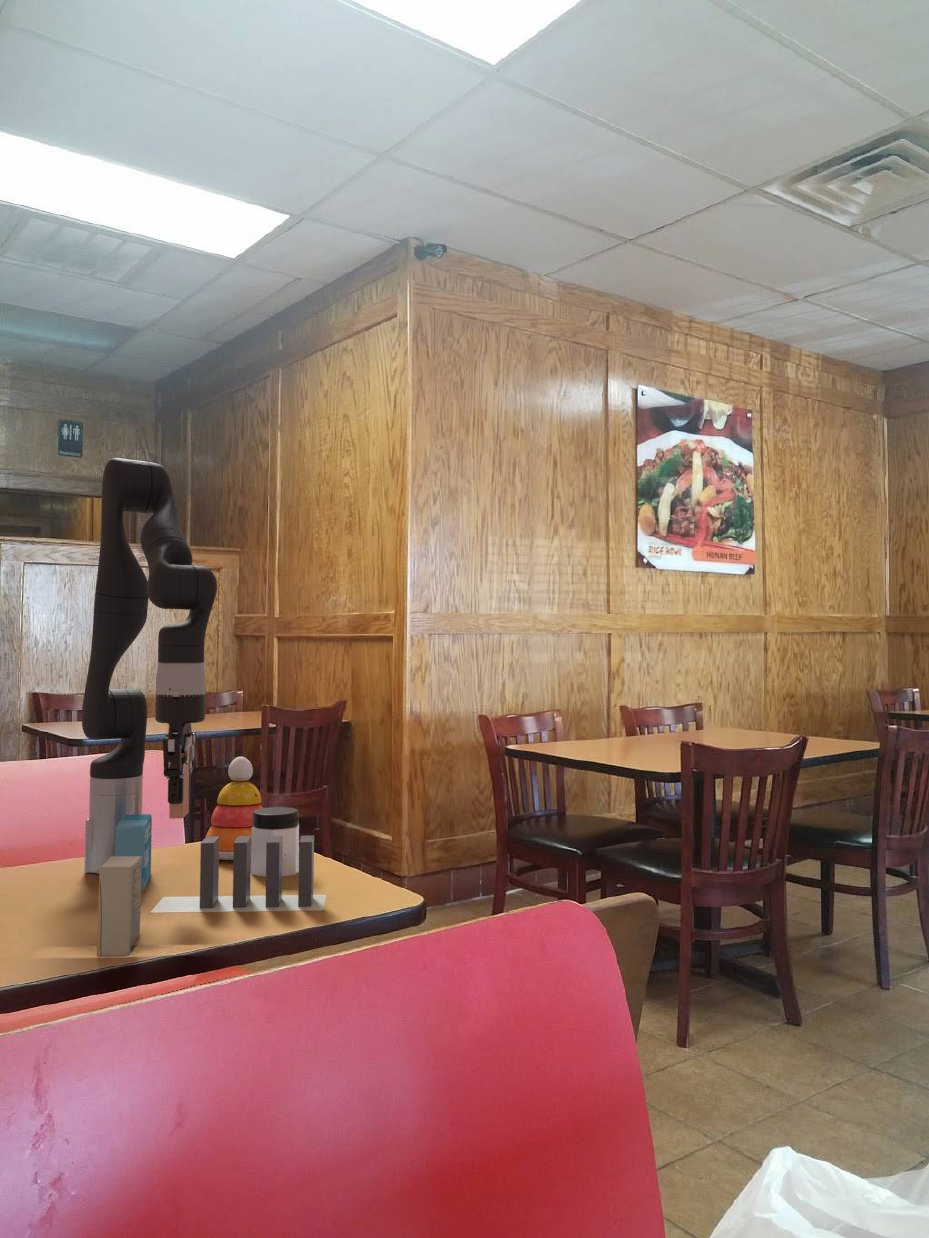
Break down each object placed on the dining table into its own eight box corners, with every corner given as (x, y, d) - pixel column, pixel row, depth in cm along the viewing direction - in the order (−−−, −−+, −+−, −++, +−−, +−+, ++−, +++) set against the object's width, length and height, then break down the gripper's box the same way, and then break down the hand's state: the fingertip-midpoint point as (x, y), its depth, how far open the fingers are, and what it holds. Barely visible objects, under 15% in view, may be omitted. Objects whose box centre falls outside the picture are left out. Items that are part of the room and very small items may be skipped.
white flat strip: (149, 920, 145) (150, 912, 145) (163, 904, 154) (163, 896, 154) (323, 917, 148) (323, 909, 148) (326, 901, 157) (326, 894, 157)
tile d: (265, 907, 149) (266, 842, 149) (269, 898, 154) (270, 835, 154) (278, 907, 149) (279, 842, 149) (281, 898, 154) (282, 835, 154)
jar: (259, 886, 166) (260, 816, 167) (242, 876, 173) (243, 809, 173) (307, 879, 171) (308, 812, 172) (289, 870, 178) (290, 805, 178)
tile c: (232, 907, 148) (233, 842, 149) (237, 899, 153) (238, 836, 154) (245, 907, 149) (246, 842, 149) (250, 898, 154) (251, 836, 154)
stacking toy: (259, 866, 181) (261, 762, 182) (188, 862, 183) (190, 760, 184) (285, 850, 195) (286, 753, 196) (218, 847, 197) (220, 752, 198)
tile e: (298, 906, 149) (299, 842, 150) (300, 898, 154) (301, 835, 155) (311, 906, 150) (312, 842, 150) (313, 898, 155) (314, 835, 155)
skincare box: (109, 942, 135) (110, 855, 135) (141, 942, 135) (143, 855, 135) (95, 957, 129) (97, 866, 129) (129, 956, 129) (131, 865, 129)
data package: (143, 898, 158) (144, 825, 158) (114, 900, 157) (115, 826, 157) (150, 880, 170) (152, 812, 170) (123, 881, 169) (125, 813, 169)
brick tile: (169, 818, 148) (170, 753, 148) (175, 812, 153) (176, 749, 153) (182, 818, 148) (183, 753, 148) (188, 812, 153) (189, 749, 153)
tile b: (199, 908, 148) (200, 843, 148) (205, 899, 153) (206, 836, 153) (212, 908, 148) (213, 842, 148) (218, 899, 153) (219, 836, 153)
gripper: (166, 689, 158) (164, 793, 157) (145, 694, 144) (143, 808, 143) (212, 689, 159) (211, 793, 158) (196, 694, 144) (195, 808, 144)
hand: (179, 799), depth 151 cm, fingers closed on brick tile, 5 cm apart
